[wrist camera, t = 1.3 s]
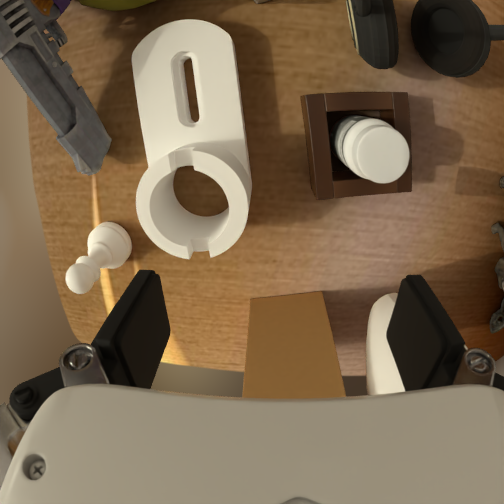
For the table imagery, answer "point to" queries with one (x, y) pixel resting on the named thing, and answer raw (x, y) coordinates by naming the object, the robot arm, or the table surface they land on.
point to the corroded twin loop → (494, 322)
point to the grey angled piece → (260, 1)
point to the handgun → (51, 78)
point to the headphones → (425, 34)
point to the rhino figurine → (503, 264)
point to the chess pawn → (99, 256)
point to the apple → (115, 4)
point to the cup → (381, 350)
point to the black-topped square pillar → (291, 349)
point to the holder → (318, 144)
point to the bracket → (191, 135)
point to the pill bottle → (370, 148)
